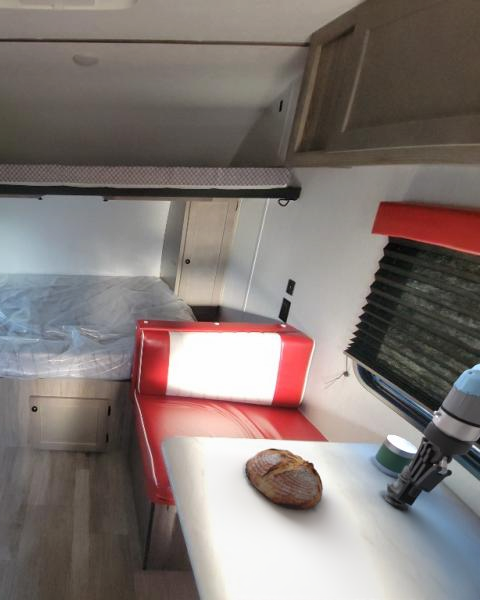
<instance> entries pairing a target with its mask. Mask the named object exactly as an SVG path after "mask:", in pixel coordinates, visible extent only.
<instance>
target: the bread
mask: <svg viewBox="0 0 480 600" xmlns="http://www.w3.org/2000/svg"><path fill="white" fill-rule="evenodd" d="M244 470H245V474H246V475H245V476H246V477H248V479H249V481H250V483H251V485H252V486H254V487H255V489H257V490H258V491H259V492H260V493H261V494H262V495H264V496H265V497H266V498H268V500H270V501H272V502H273V503H274V504H276V505H278V506H280V507H284V508H288V509H293V510H307V509H312V508H313V507H315V506H317V504H318V503H320V502H321V500H322V496H323V490H324V488H323V486H324V485H323V481H322V478H321V475H320V474H319V472H318V470H317V469H316V468H315V464H314V463H313V462H309V460H305V459H303V458H302V456H300V455H297V454H294V453H293V452H292V451H289V450H288V449H282V448H273V447H270V448H266V449H264V450H261V451H259V452H257V453H256V454H255V455H254V456H252V457H250V458H249V459H248V460H247V461H246V462H245V468H244Z"/></svg>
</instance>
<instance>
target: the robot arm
mask: <svg viewBox="0 0 480 600" xmlns="http://www.w3.org/2000/svg"><path fill="white" fill-rule="evenodd" d="M423 435H424V436H422V437H421V441H420V444H419V447H418V448H417V450H418V451H417V453H416V455H415V457H414V459H413V461H412V462H411V464H410V465H409V466H410V467H409V471H411V473H410V474H409V477H410V478H409V479H408V480H407V482H406V483H405V485H404V486H403V488H402V489H401V491H400V492H399V494H398V495H397V498H398V500H400V501H402V502H404V503H405V504H406V505H407V506H413V504H414V503H415V501H416V500H418V497H419V496H420V495H421V493H422V492H425V493H427V494H430V493H431V491H433V490H434V489H435V488H436V487H437V486H438V485H439V484H440V483H442V481H444V480H445V479H446V478H448V477H450V476H452V474H453V471H452V470H451V469H449V468H448V465H449V464H451V463H452V461H453V459H454V456H456V455H457V456H465V455H467V454H468V453H469V452H470V450H471V449H472V447H473V446H474V444H475V442H477V441H478V440H479V438H480V363H478V364H476V365H474V366H473V367H472V368H469V369H466V370H465V371H463V372H462V374H460V376H459V377H458V378H457V379H456V381H455V382H454V383H453V386H452V387H451V389H450V391H449V393H448V394H447V395H446V397H445V399H444V400H443V402H442V404H441V405H440V407H439V408H438V410H434V411H433V417H432V420H431V421H429V423H428V425H427V426H426V428H425V429H424V431H423Z"/></svg>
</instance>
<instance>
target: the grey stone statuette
mask: <svg viewBox="0 0 480 600" xmlns="http://www.w3.org/2000/svg"><path fill="white" fill-rule="evenodd" d="M409 467H410V465H409V466H405V467H404V469H403V471H402V473H401V474H398V476H399V477H397V479H396V481H395V482H386V491H387V492H386V493H382V497H383V498H384V499H385V501H387V503H389V504H391V505H392V506H394V507H396V508H398V509H400V510H403V511H408V510H409V505H408V504H406V503H404V502H402V501H400V500H398V498H397V495H398V494H399V492H400V491H401V489H402V488H403V486H404V485H405V483H406V482H407V480H408V479H409V478H410V477H409V474H410V473H411V471H409Z"/></svg>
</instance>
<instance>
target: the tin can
mask: <svg viewBox="0 0 480 600" xmlns="http://www.w3.org/2000/svg"><path fill="white" fill-rule="evenodd" d="M417 451H418V448H417V447H416V446H415V445H414V443H412V442H410V441H409V440H407V439H405V438H403V437H401V436H398V435H394V434H388V435H387V436H386V437H385V439H384V440H383V442H382V444H381V445H380V447H379V449H378V451H377V452H376V453H375V455H374V457H373V459H372V462H373V464H374V466H375V467H376V468H377V469H378V470H380V471H381V472H383V473H384V474H386V475H387V476H391V477H393V478H399V476H398V474H401V473H402V471H403V469H404V467H405V466H410V465H411V463H412V461H413V459H414V457H415V455H416V453H417Z"/></svg>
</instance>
